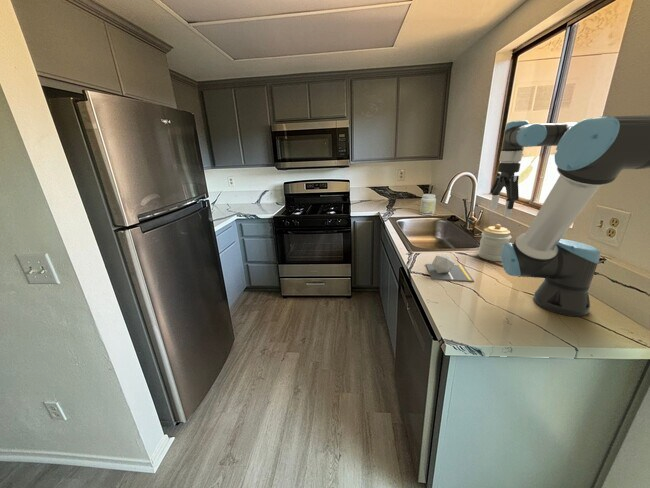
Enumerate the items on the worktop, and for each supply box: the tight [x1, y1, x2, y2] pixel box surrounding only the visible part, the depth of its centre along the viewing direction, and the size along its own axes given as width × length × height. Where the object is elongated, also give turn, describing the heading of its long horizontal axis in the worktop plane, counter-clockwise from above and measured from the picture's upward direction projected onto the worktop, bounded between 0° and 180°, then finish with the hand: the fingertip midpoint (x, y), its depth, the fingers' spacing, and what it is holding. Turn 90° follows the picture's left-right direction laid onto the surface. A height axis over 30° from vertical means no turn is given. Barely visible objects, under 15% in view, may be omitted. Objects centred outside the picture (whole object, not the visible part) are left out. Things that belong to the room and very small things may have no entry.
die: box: [431, 254, 456, 273], centre depth 120 cm, size 8×9×10 cm
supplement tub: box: [419, 193, 437, 216], centre depth 226 cm, size 12×12×17 cm
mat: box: [425, 263, 475, 283], centre depth 122 cm, size 16×17×1 cm
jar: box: [477, 223, 513, 262], centre depth 135 cm, size 13×13×18 cm
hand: (499, 212), depth 117 cm, fingers open, 13 cm apart
